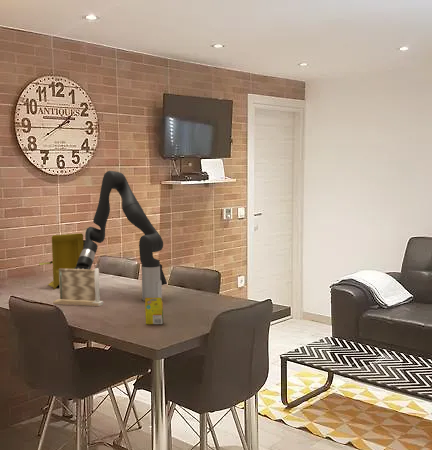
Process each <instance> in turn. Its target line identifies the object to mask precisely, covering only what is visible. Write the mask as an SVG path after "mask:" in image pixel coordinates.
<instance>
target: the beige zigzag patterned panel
mask: <svg viewBox="0 0 432 450" xmlns="http://www.w3.org/2000/svg"><path fill="white" fill-rule="evenodd" d="M94 270H95V269H63V268H59V285H58V286H59V299H64V300H84V301H96V298H95V271H94Z"/></svg>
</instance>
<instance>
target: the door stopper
mask: <svg viewBox="0 0 432 450" xmlns="http://www.w3.org/2000/svg"><path fill="white" fill-rule="evenodd" d="M160 280H161V281H162V286H163V285H164V286H165V285H168V283H167V279H166V276H165V273H164V270H163V265H162V264H161V263H160Z"/></svg>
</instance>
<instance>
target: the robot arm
mask: <svg viewBox="0 0 432 450" xmlns="http://www.w3.org/2000/svg"><path fill="white" fill-rule="evenodd" d="M112 190H116V191H117V193H118V194H119V195H120V197H121V208H122V211H123V214H124V215H125V218H127V220H128V222H129V223H131V224H132V225H133V226H135V227H136V228H137V229H139V231H141V232H142V233H143V235H141V236H140V238H139V242H138V251H139V260H140V263H141V294H142V295H141V299H142V301H144V302H145V298H162V299H163V289H162V287H163V285H162V281H161V280H160V264H161V262H160V259H158V258H156V257H154V253H156V252H157V253H158V252H160V251H162V250H163V248H164V241H163V238H162V236H161V234H159V232H158V230H157V229H156V228H155V227H154V225H153V223H152V222H151V221H150V219H149V218H148V216H147V215H146V213H145V211H144V209H143V207H142V206H141V204H140V203H139V201H138V199H137V198H136V195H134V193H133V191H132V188H131V186H130V185H129V182H128V180H127V178H126V176H125V174H124V173H122V172H120V171H114V170H107V171H106V172H105V173H104V175H103V177H102V181H101V186H100V194H99V199H98V203H97V207H96V211H95V214H94V216H93V220H92V221H93V223H94V224H95V225H96V226H98V227H99V228H100V229H99V228H97V227H94V226H89V227H87V228H86V230H85V233H84V238H85V239H84V240H85V244H84V247H83V250H82V252H81V254H80V256H79V259H78V262H77V264H76V267H75V268H74V269H90V270H92V266H93V264H94V262H95V257H96V253H97V251H98V247H99V245H98V244H101V243H103V242H104V240H105V238H106V226H107V221H108V219H109V216H110V212H111V206H110V194H111V192H112ZM97 243H98V244H97ZM156 300H157V299H150V301H156Z"/></svg>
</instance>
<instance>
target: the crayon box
mask: <svg viewBox="0 0 432 450" xmlns="http://www.w3.org/2000/svg"><path fill="white" fill-rule="evenodd" d="M150 299H157V300H156V301H150ZM162 299H163V297H162V298H145V301H144V309H145V310H144V313H145V325H163V324H164V304H163V301H164V300H162Z"/></svg>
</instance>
